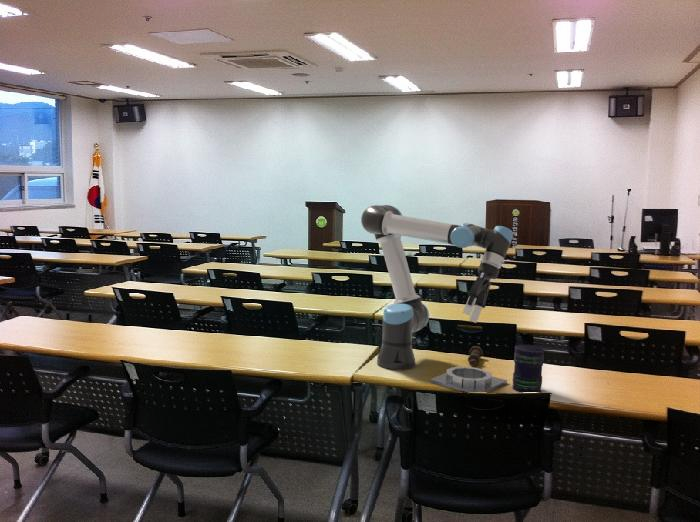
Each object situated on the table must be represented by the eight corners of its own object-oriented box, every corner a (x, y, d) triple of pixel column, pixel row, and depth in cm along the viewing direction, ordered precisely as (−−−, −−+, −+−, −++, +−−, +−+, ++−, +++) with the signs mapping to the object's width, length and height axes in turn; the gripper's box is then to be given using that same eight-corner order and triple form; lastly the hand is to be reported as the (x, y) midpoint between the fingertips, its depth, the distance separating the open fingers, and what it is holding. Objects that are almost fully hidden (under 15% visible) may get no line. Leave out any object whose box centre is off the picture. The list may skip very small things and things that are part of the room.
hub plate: (429, 382, 205) (430, 372, 204) (458, 371, 220) (459, 361, 219) (479, 396, 192) (480, 386, 191) (506, 383, 207) (507, 373, 206)
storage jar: (506, 388, 201) (509, 347, 199) (520, 383, 207) (523, 343, 206) (532, 396, 194) (535, 353, 192) (546, 390, 200) (549, 348, 199)
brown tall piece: (470, 371, 226) (473, 360, 240) (482, 367, 224) (484, 356, 238) (463, 358, 226) (467, 348, 240) (475, 353, 224) (478, 343, 238)
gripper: (495, 259, 201) (473, 314, 198) (504, 278, 224) (484, 328, 220) (475, 252, 205) (453, 306, 202) (485, 272, 227) (466, 321, 224)
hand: (469, 318), depth 211 cm, fingers open, 13 cm apart
